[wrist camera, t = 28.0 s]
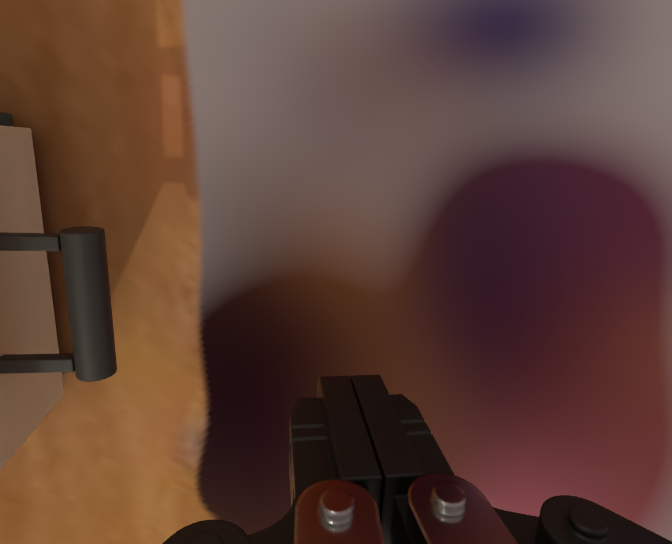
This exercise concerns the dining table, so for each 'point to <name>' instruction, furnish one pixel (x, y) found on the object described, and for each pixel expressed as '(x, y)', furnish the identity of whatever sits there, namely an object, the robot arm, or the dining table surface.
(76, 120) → the dining table surface
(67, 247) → the drawer
